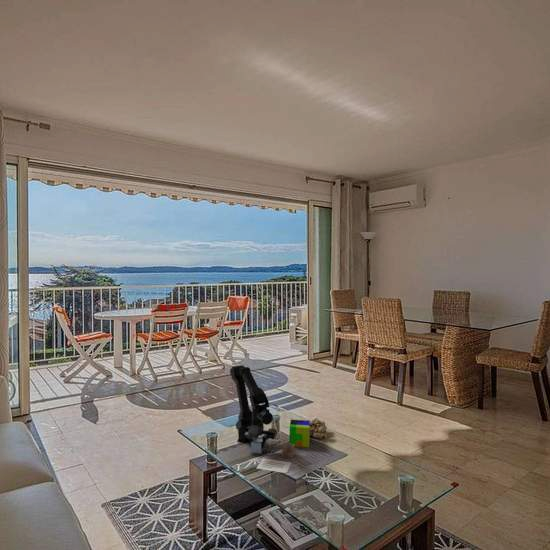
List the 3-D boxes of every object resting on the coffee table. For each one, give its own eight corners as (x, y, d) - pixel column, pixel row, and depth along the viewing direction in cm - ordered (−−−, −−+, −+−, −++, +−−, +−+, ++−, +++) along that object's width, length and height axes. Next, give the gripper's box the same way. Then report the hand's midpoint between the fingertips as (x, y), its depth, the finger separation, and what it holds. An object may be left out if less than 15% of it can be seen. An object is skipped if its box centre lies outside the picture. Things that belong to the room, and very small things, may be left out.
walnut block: (282, 457, 194) (282, 447, 194) (284, 452, 199) (284, 442, 199) (292, 458, 193) (292, 448, 193) (294, 454, 198) (294, 444, 198)
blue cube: (250, 452, 198) (251, 442, 198) (254, 448, 203) (254, 438, 203) (260, 454, 197) (260, 443, 197) (263, 449, 202) (263, 439, 202)
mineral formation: (299, 436, 218) (311, 425, 231) (321, 446, 212) (332, 434, 225) (301, 422, 217) (313, 412, 230) (323, 432, 211) (334, 421, 223)
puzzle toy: (309, 439, 215) (309, 420, 215) (308, 447, 205) (309, 428, 205) (290, 438, 216) (290, 419, 216) (289, 446, 206) (289, 426, 206)
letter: (256, 468, 182) (256, 468, 182) (262, 458, 192) (262, 458, 192) (286, 473, 179) (286, 473, 179) (291, 463, 188) (291, 462, 188)
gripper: (234, 421, 194) (233, 453, 195) (271, 426, 190) (270, 459, 190) (242, 413, 205) (241, 443, 205) (277, 417, 200) (277, 448, 201)
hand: (257, 448), depth 200 cm, fingers closed on blue cube, 5 cm apart
